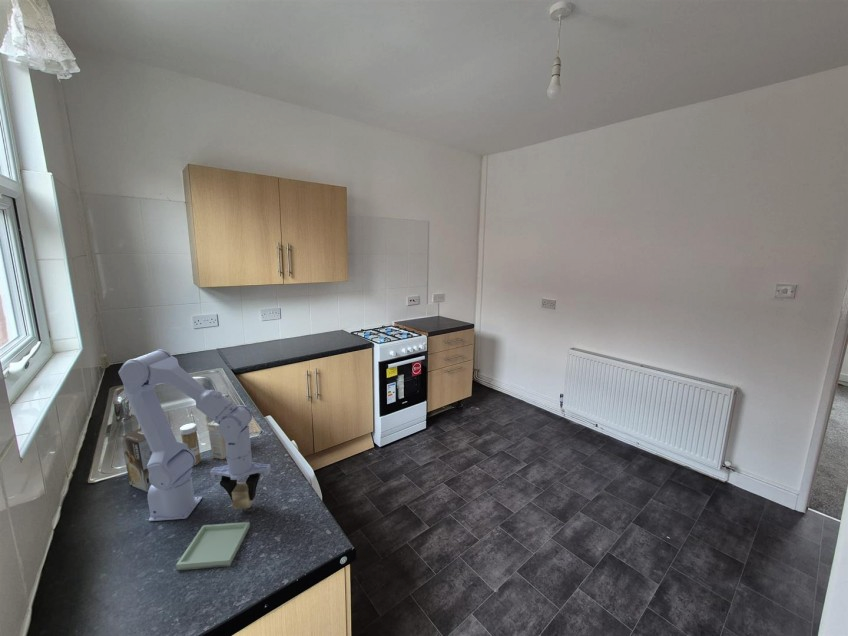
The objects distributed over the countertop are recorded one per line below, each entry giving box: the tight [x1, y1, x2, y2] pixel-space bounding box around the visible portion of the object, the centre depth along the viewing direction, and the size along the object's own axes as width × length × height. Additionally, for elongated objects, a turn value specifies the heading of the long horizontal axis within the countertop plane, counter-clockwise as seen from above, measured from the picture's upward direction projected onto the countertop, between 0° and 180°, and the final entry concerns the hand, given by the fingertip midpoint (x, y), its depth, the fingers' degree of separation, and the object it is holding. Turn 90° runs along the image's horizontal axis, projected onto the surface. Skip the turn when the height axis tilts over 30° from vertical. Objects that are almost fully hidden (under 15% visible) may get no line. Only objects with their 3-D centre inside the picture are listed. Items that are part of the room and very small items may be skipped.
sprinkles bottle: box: [179, 422, 202, 465], centre depth 114 cm, size 5×5×13 cm
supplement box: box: [207, 420, 227, 459], centre depth 120 cm, size 8×5×13 cm, turn 169°
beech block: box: [231, 481, 256, 510], centre depth 93 cm, size 4×4×5 cm
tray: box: [175, 521, 251, 571], centre depth 82 cm, size 11×11×2 cm
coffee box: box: [120, 427, 152, 493], centre depth 104 cm, size 9×6×16 cm
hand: (243, 498), depth 93 cm, fingers closed on beech block, 4 cm apart
